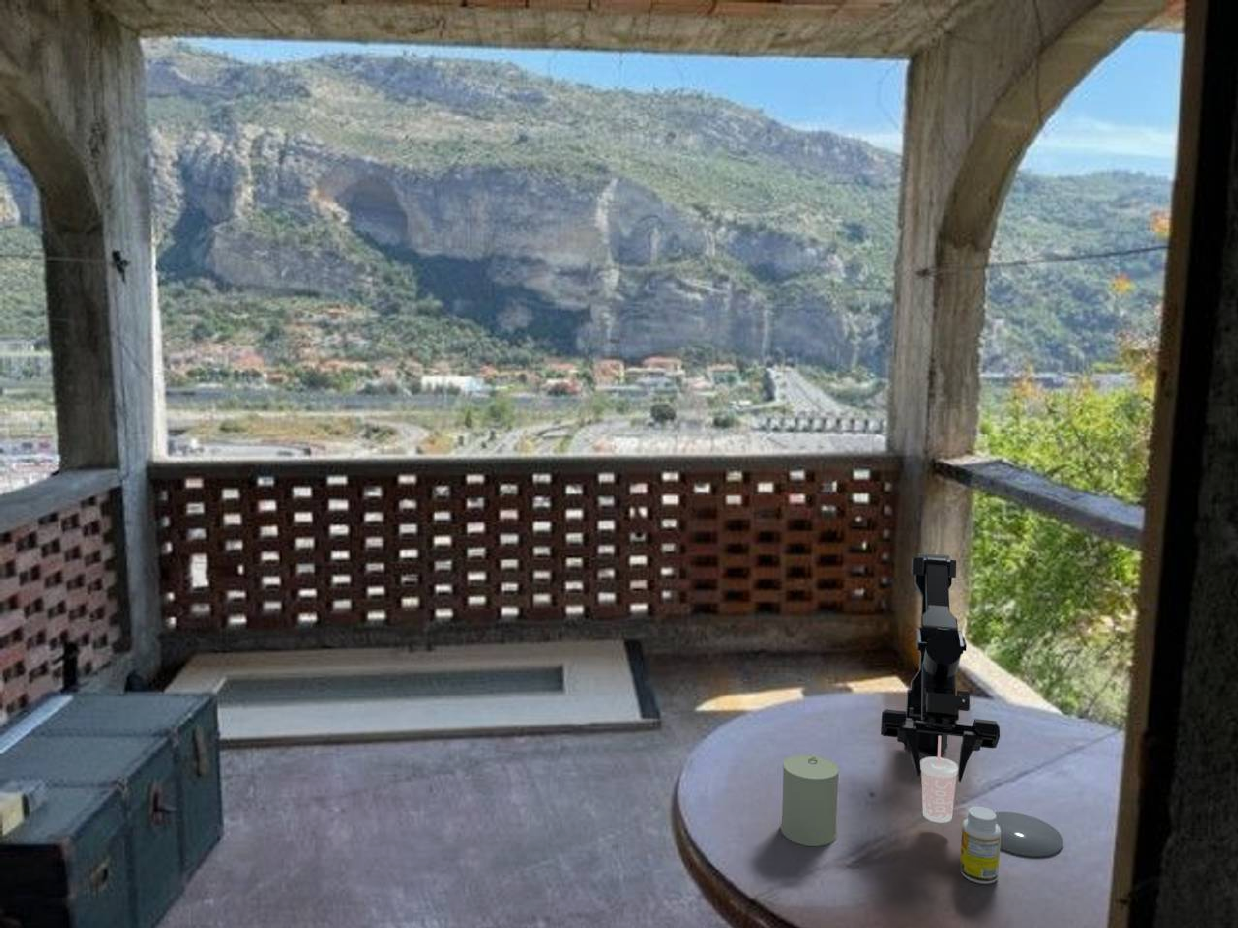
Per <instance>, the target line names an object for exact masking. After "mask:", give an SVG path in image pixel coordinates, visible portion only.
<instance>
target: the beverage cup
mask: <svg viewBox="0 0 1238 928" xmlns="http://www.w3.org/2000/svg"><path fill="white" fill-rule="evenodd" d="M941 738H942V736H940V735H939V737H938V755H937V756H932V755H931V756H925V757H923V758H921V759H920V777H921V797H922V798H921V799H922V801H921V802H922V803H921V804H922V815H923V817H924V818H925V819H926V820H928V821H930V822H933V823H941V824H943V823H948V822H951V820H952V819H953V811H954V801H955V792H956V785H957V784H956V783H957V776H958V770H959V764H957V763H956V762H955V761H954V760H951V759H949V758H946V757H942V751H941Z"/></svg>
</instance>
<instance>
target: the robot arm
mask: <svg viewBox="0 0 1238 928" xmlns="http://www.w3.org/2000/svg"><path fill="white" fill-rule="evenodd" d="M910 573H911V576H914V579H913V580H914V582H913V583H914V584H913V585H914V586H915V588H916V590H917V591H918V593H919V596H921V607H920V609H921V610H920V612H921V613H920V615H921V616H920V627H916V631H915V633H916V634H915V647H916V651H919V669H918V671H917V672H916V674H915V676H914V677H913V678H912V680H911V682H910V689H907V691H906V699H905V711H904V710H897V709H896V710H895V709H884V711H882V712H881V723H880V724H881V727H880V729H881V731H880V735H882V736H883V737H891V738H897V740H896V741H897V742H898V743H901V744H903V745H904V748H905V749H906V751H907V753H908V755H909V758H910V760H911V763H912V765H913V769H914V772H915V774H916V777H917V778H920V777H921V769H920V761H921V759H920V753H922V754H926V755H929V756H931V757H932V756H934V757H938V737H939V735H940V736H942V738H941V752H942V751H943V750H945V749H946V748H947V747H948V736H951V737H952V736H953V737H961V738H962V742H961V745H960V752H959V753H960V754H959V761H958V762H959V763H958V767H959V770H958V774H957V782H958V783H962V780H963V776H964V775H965V774H964V773H965V770H966V767H967V764H968V762H969V760H970V758H971V756H972V754H973V752H979V751H980V750H981V748H985V749H997V746H998V745H999V741H1000V738H1001V729H1000V728H1001V727H1000V724H999V723H998V722H997V721H996V720H986V719H977V718H973V722H972V725H967V724H958V721H959V719H960V718H959V717H960V716H959V715H960V714H959V713H960V712H959V711H963V712H969V711H970V710H971V695H970V693H971V692H970V691H968V690H957V672H958V670H959V666H960V662H961V657H962V655H963V654H964V652H967V648H968V647H967V645H968V644H967V641H966V639H965V637H964V636H963V633H962V630H959V627H958V618H957V617H956V616H955V615H953V613H952V612H951V611H950V596H949V595H950V593H949V592H950V591H949V590H950V588H951V585H952V581H953V579H957V560H955V559H950V555H949V554H937V553H924V552H923V553H920V552H919V553H918V554H917V557H912V558H911V572H910Z"/></svg>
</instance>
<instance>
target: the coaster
mask: <svg viewBox="0 0 1238 928" xmlns="http://www.w3.org/2000/svg"><path fill="white" fill-rule="evenodd" d="M994 812H995V811H994ZM995 814H996V824H997V825H998V826H999V827H1000V829H1001V845H1000V851H1001V850H1002V851H1003V852H1007V853H1010V854H1011V855H1016V856H1022V857H1027V858H1045V857H1050V855H1051V856H1055V855H1057V854H1058V853H1060V851H1062V849H1063V845H1064V838H1063V836H1062V834H1061V833H1060V832H1059V830H1058V829H1056V828H1055V827H1053V825H1051V824H1050V823H1047V822H1046V821H1044V820H1041V819H1039V818H1037V817H1034V816H1031V815H1028V814H1023V813H1019V812H1013V811H997V812H995Z"/></svg>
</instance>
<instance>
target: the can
mask: <svg viewBox="0 0 1238 928" xmlns="http://www.w3.org/2000/svg"><path fill="white" fill-rule="evenodd" d="M782 767H783V768H782V769H783V770H782V772H783V773H782V774H783V775H782V804H781V805H782V807H781V808H782V810H781V811H782V812H781V823H780V831H781V833H782V835H783V836H784V838H786V839H788V840H790V841H791V842H793V843H795V844H798V845H801V846H807V847H809V846H810V847H820V846H826V845H829V844H831V843H833V842H834V841H835V840H836V839H837V837H838V832H837V813H838V810H837V809H838V790H839V774H840V768H839V765H838V764H837V763H836V762H834V761H833V760H832V759H829V758H828V757H825V756H823V755H822V756H821V755H817V754H811V753H802V754H801V753H799V754H794V755H791V756H788V757H786V758H785V759H784V761H783V763H782Z"/></svg>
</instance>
